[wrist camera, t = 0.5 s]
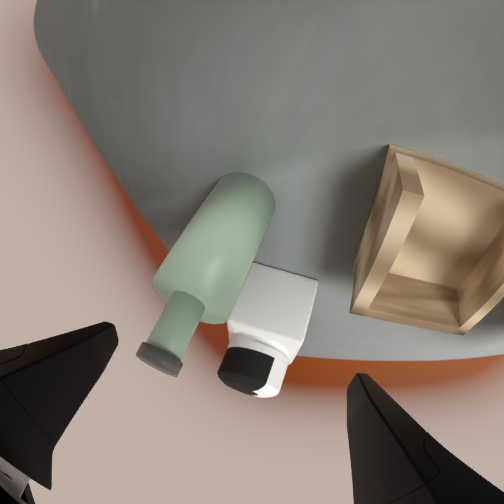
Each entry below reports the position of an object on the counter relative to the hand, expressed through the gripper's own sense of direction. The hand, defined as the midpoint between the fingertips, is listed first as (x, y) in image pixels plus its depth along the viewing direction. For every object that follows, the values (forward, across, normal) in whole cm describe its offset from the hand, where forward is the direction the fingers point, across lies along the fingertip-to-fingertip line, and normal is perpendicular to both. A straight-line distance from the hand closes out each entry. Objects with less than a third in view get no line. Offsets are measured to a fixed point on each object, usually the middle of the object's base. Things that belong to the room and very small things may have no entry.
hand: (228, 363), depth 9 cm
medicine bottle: (+20, +2, -9) cm, 22 cm away
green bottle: (+16, -2, +1) cm, 16 cm away
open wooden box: (+12, +13, +2) cm, 18 cm away
